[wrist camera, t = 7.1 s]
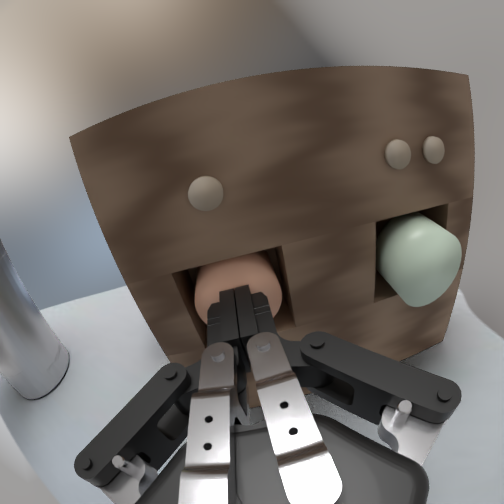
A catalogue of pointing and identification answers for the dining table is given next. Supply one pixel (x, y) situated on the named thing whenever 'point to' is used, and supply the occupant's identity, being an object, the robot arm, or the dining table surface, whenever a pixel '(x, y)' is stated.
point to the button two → (417, 258)
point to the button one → (237, 280)
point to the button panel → (285, 197)
